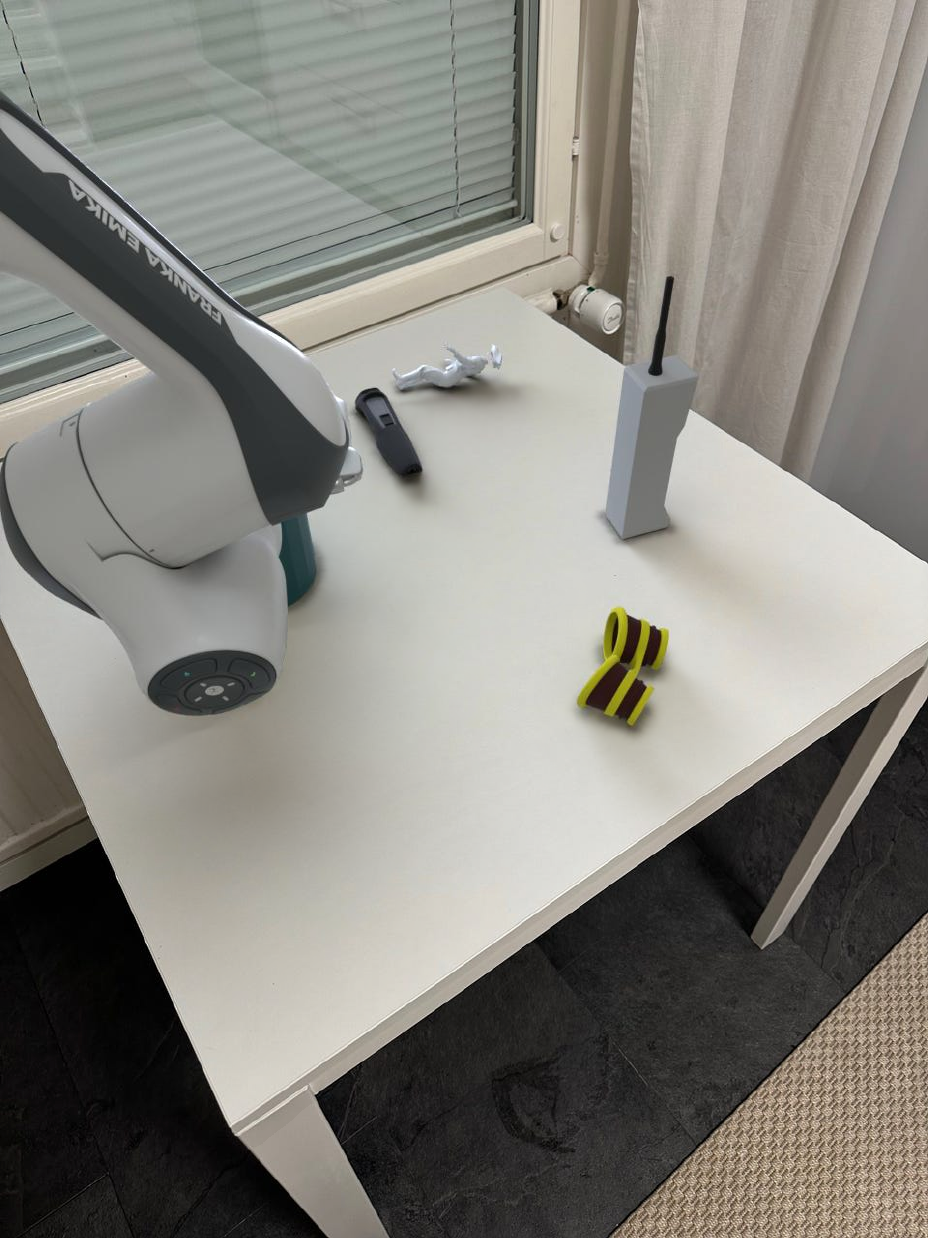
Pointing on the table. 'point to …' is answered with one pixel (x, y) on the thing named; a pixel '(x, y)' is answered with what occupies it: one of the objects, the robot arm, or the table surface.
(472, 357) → the soldier figure
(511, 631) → the table surface
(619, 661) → the opera glasses
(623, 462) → the vintage mobile phone
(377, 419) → the electric trimmer
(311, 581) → the cup
